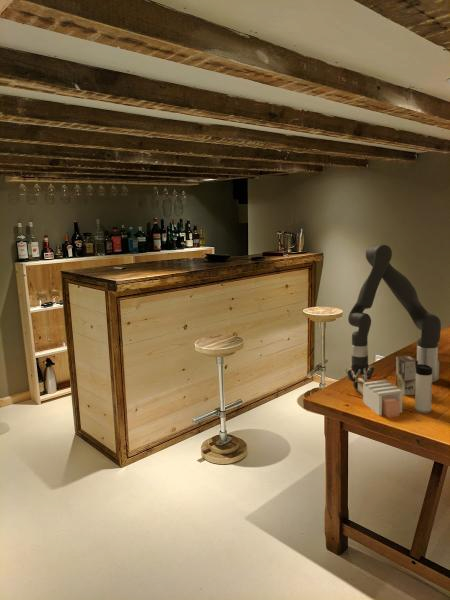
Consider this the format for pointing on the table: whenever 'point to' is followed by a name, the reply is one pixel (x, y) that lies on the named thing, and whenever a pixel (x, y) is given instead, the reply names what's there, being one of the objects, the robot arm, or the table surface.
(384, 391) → the tunnel
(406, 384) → the coffee box
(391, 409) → the block
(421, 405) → the travel mug
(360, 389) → the rod
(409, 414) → the table surface
